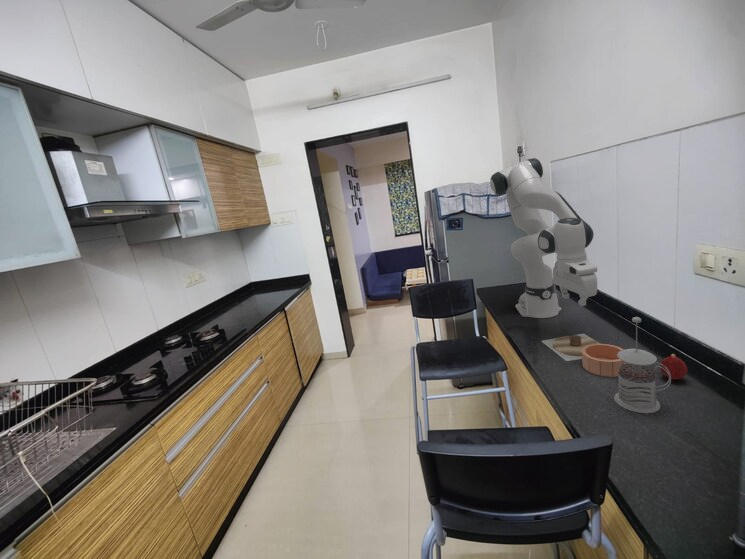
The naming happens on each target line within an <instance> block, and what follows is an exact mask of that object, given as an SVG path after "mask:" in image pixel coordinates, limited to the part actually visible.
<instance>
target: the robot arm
mask: <svg viewBox="0 0 745 559" xmlns="http://www.w3.org/2000/svg"><path fill="white" fill-rule="evenodd" d="M543 175H544V168H543V164H542V163H541V161H540V160H539V159H538V158H536V157H535V158H534V157H533V158H528V159H526V160H523V161H521V162H520V161H519V162H516V163H514V164H512V165H510V166H507V167H506V168H503V169H501V170H499V171H497V172H495V173H494V174H492V175H490V176H491V177H490V180H489V184H490V189H491V190H492V192H493V193H494V194H495V195H497V196H502V195H506V197H505V198H506V201H507V207H508V211H509V212H510V216H511V218H512V220H513V223H514V226H515V227H516V229H519V230H522V231H523V232H524V233H525V234H526V235H525V236H521V237H520V238H517V239H516V240H514V241H513V242H512V243H511V245H510V253H511V255H512V257H513V258H514V259H515V260H516V261H518V262H519V263H520V264H521V266H522V267H523V268H524V274H525V282H526V284H525V286H524V287H525V288H524V289H525V290H524V292H523V293H522V294H521V295H520V297H519V299H518V303H517V304H515V306H514V307H515V308H516V309H517V311H518V313H519V314H520V315H521V317H524V318H525V317H526V318H527V317H528V318H529V317H530V318H536V319H546V318H553V317H555V316H557V315H559V313H560V311H562V307H561V306H560V305H559V300H558V294H557V293H555V285H556V286H559V290H560V292H561V295H562V298H563V299H565V300H566V299H570V293H569V292H568V291H570V292H573V293H575V294H577V295H579V298H580V299H579V300H578V301H577V304H578V306H579V307H585V306H586V305H587V300H588V299H589V297H593V296H596V295H597V294H598V277H597V275H596V273H597V272H598V266H596V265H595V264H594V263H593V262H591V260H589V259H588V256H587V252H586V248H587V247H588V246H590V244H591V243H592V241H593V239H594V235H595V234H594V230H593V228H592V227H591V226H590V224H588V223H587V222H586V221H585V220H584V219H582V218H581V216H580V215H579V214H578V213H577V212H576V211H575V210H574V209H573V206H571V205H570V204H569V202H568V200H566V198H564V196H562V194H560V193H559V192H558V191H555V190H553V189H552V188H550V187H549V186H548V185H546V184H545V182H544V181H543V179H542V177H543ZM539 209H540V210H545V211H549V212H551V213H553V214H554V215H556V216H557V218H558V220H557V221H556V222H555V224H554V225H552V226H549V225H548V224H547V223H546V222H545V221H544V219H543V218H542V216H541V214H540V212H539ZM552 254H556V262H555V263H554V267H553V268H551V267H550V266H549V265H547V264H545V262H544V260H543V257H544V256H548V255H552Z"/></svg>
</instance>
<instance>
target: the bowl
mask: <svg viewBox="0 0 745 559" xmlns="http://www.w3.org/2000/svg"><path fill="white" fill-rule="evenodd" d="M622 350H625V349H624V348H622V347H620V346H616V345H613V344H608V343H600V344H591V345H586V346H585V347H583V348H582V359H581V361H582V362H581V363H582V368H583V369H584V370H586V371H587V372H589V373H591V374H594V375H597V376H601V377H609V378H610V377H611V378H615V377H618V372H619V370H620V366H621V365H623V364H628V363H626V362H623V361H622V360H620V359H619V358H618V355H617V354H618V352H619V351H622Z"/></svg>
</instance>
